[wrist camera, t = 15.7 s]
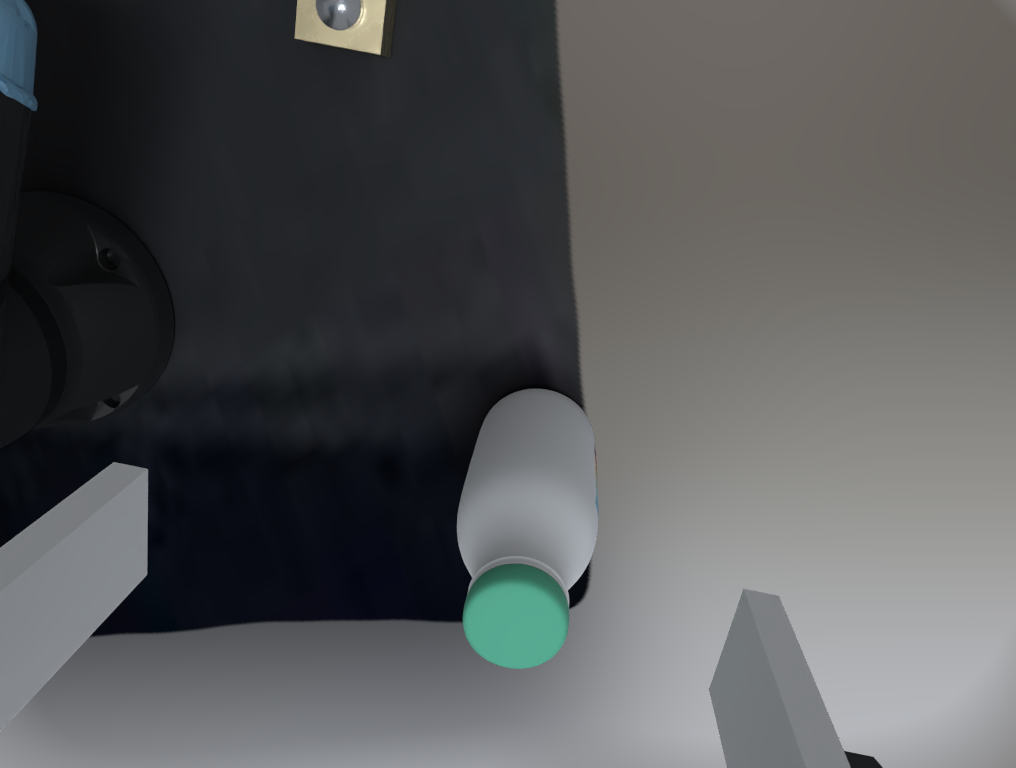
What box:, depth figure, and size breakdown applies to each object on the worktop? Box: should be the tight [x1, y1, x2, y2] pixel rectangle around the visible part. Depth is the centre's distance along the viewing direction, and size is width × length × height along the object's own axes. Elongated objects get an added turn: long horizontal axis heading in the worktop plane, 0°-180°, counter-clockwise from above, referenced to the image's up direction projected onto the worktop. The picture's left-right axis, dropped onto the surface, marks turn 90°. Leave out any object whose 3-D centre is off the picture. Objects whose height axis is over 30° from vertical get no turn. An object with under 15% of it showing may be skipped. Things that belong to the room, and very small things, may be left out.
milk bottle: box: [457, 389, 598, 669], centre depth 41 cm, size 8×8×20 cm
